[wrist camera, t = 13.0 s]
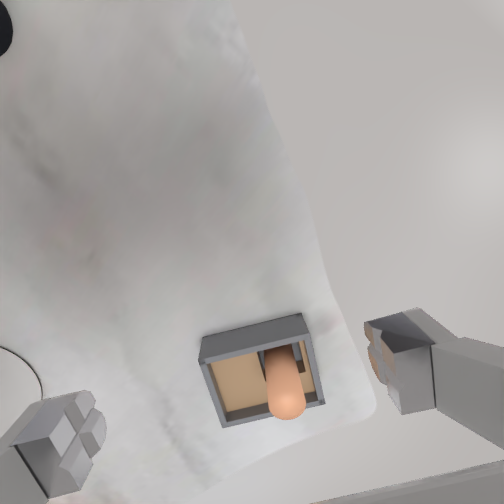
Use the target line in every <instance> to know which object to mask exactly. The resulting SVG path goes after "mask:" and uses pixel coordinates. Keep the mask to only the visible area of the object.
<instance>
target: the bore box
mask: <svg viewBox="0 0 504 504" xmlns="http://www.w3.org/2000/svg"><path fill="white" fill-rule="evenodd" d="M290 343H291V345H292V348H293V352H294V356H295V360H296V364H297V368H298V372H299V376H300V380H301V384H302V388H303V392H304V396H305V400H306V407H305V409H306V408H311V407H315V406H319V405H323V404H325V400H324V395H323V391H322V386H321V382H320V377H319V373H318V369H317V364H316V360H315V355H314V351H313V346H312V342H311V337H310V333H309V330H308V328H307V326H306V323H305V321H304V319H303V316H302V314H301V313H299V314H295V315H291V316H287V317H283V318H279V319H275V320H271V321H267V322H263V323H259V324H255V325H251V326H247V327H243V328H239V329H235V330H231V331H227V332H223V333H219V334H215V335H211V336H206V337H203V338H202V343H201V348H200V353H199V358H198V362H199V365H200V367H201V370H202V373H203V376H204V378H205V381H206V384H207V387H208V389H209V392H210V395H211V398H212V400H213V403H214V406H215V409H216V412H217V414H218V417H219V420H220V423H221V425H222V428H226V427H231V426H235V425H239V424H243V423H247V422H252V421H256V420H260V419H264V418H268V417H273V416H274V415H273V414H272V413H271V412H270V410H269V406H268V395H267V384H266V373H265V362H264V351H263V350H266V349H270V348H274V347H278V346H282V345H286V344H290Z"/></svg>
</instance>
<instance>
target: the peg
mask: <svg viewBox="0 0 504 504" xmlns="http://www.w3.org/2000/svg"><path fill="white" fill-rule="evenodd" d="M263 351H264V362H265V373H266V384H267V395H268V406H269V410H270V412H271V413H272V414H273V415H274V416H275V417H277V418H279V419H283V420H290V419H294V418H296V417H298V416H300V415H301V414H302V413H303V412H304V410H305V407H306V400H305V396H304V392H303V388H302V384H301V380H300V376H299V372H298V368H297V364H296V360H295V356H294V352H293V348H292V345H291V343H290V344H286V345H282V346H278V347H274V348H270V349H266V350H263Z"/></svg>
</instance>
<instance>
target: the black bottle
mask: <svg viewBox="0 0 504 504" xmlns="http://www.w3.org/2000/svg"><path fill="white" fill-rule="evenodd" d="M12 32H13V31H12V24H11V19H10V17H9V14H8V12H7V10H6V8H5V6H4V5H3V4H2V2H1V1H0V56H1V55H2V54H3V53H4V52H6V51H7V49H8V47H9V45H10V43H11V39H12Z"/></svg>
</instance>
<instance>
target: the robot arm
mask: <svg viewBox="0 0 504 504" xmlns="http://www.w3.org/2000/svg"><path fill="white" fill-rule="evenodd" d="M364 330H365V335H366V337H367V338H368V340H369V341H370V345H369V346H368V354H369V359H370V362H371V365H372V368H373V370H374V372H375V374H376V376H377V378H378V379H379V381H380V382H381V383H383V384H385V385H387V388H388V395H389V396H390V398H391V399H392V401H393V402H394V404H395V405H396V407H397V408H398V410H399V411H400V413H401V415H405V414H410V413H414V412H419V411H424V410H429V409H434V408H437V410H438V411H440V412H441V413H443V414H445V415H446V416H448V417H450V418H451V419H453V420H455V421H456V422H458V423H460V424H462V425H463V426H465V427H467V428H468V429H470V430H472V431H473V432H475V433H477V434H479V435H480V436H482V437H484V438H485V439H487V440H488V441H490V442H492V443H493V444H495V445H497V446H498V447H500V448H502V449H504V347H500V346H496V345H493V344H489V343H485V342H481V341H478V340H474V339H470V338H466V337H464V338H458V337H456V336H455V335H454V334H453V333H451V332H450V331H449V330H447V329H446V328H445V327H444V326H442V325H441V324H440V323H439V322H437V321H436V320H435V319H433V318H432V317H431V316H430V315H428V314H427V313H426V312H424V311H423V310H422V309H420V308H413V309H410V310H406V311H403V312H400V313H397V314H393V315H389V316H386V317H382V318H378V319H374V320H370V321H366V322H364ZM41 398H42V393H41V387H40V384H39V381H38V379H37V377H36V375H35V373H34V372H33V371H32V369H31V368H30V367H29V366H28V365H27V364H26V363H25V362H24V361H23V360H21V359H20V358H19V357H17V356H16V355H14V354H13V353H11V352H9V351H7V350H4V349H2V348H0V504H46V503H47V502H48V499H50V498H54V497H58V496H61V495H65V494H69V493H73V492H76V491H80V490H81V488H82V486H83V484H84V482H85V480H86V478H87V476H88V474H89V472H90V470H91V468H92V466H93V463H92V457H93V456H94V455H95V454H96V453H97V452H98V451H99V450H100V449H101V447H102V445H103V443H104V441H105V436H106V429H107V427H106V422H105V418H104V416H103V414H102V413H101V412H100V411H98V410H96V409H95V408H94V405H95V401H96V400H95V399H94V397H93V395H92V393H91V392H90V391H86V390H83V391H79V392H74V393H70V394H65V395H61V396H56V397H53V398H47V399H43V400H41ZM311 504H504V460H501V461H497V462H492V463H488V464H483V465H479V466H474V467H470V468H466V469H461V470H457V471H452V472H448V473H444V474H439V475H435V476H430V477H426V478H422V479H417V480H413V481H409V482H404V483H400V484H395V485H391V486H386V487H382V488H377V489H373V490H369V491H364V492H360V493H356V494H351V495H347V496H342V497H338V498H334V499H329V500H324V501H320V502H316V503H311Z"/></svg>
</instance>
